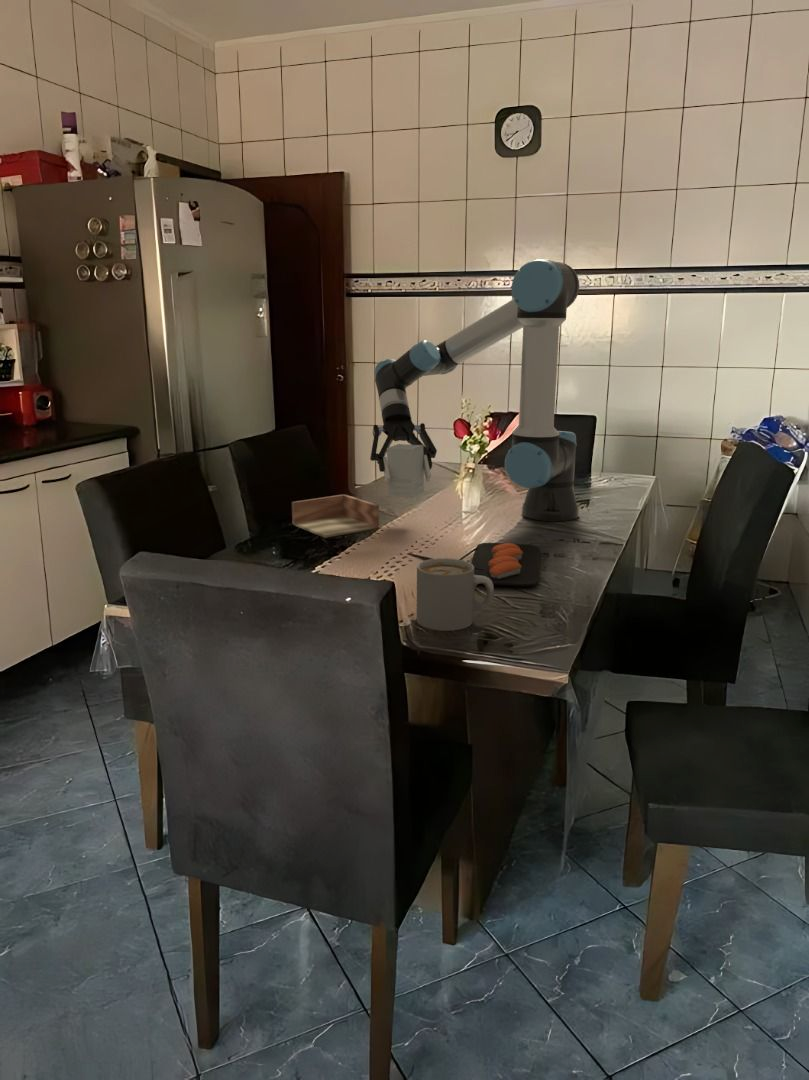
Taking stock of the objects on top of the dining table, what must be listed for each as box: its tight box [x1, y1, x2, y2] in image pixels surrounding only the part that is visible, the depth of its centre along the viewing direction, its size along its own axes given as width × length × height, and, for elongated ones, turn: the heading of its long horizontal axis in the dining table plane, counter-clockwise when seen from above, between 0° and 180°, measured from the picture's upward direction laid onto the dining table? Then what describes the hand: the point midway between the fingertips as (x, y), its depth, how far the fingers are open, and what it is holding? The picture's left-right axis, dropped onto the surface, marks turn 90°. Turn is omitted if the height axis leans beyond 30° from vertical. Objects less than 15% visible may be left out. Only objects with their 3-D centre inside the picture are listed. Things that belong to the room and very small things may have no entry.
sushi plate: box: [406, 542, 541, 587], centre depth 173 cm, size 29×30×4 cm
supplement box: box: [386, 443, 425, 499], centre depth 205 cm, size 7×7×13 cm
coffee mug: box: [416, 557, 495, 632], centre depth 140 cm, size 13×10×10 cm
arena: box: [291, 493, 380, 539], centre depth 205 cm, size 16×16×6 cm
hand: (408, 479), depth 202 cm, fingers closed on supplement box, 10 cm apart
